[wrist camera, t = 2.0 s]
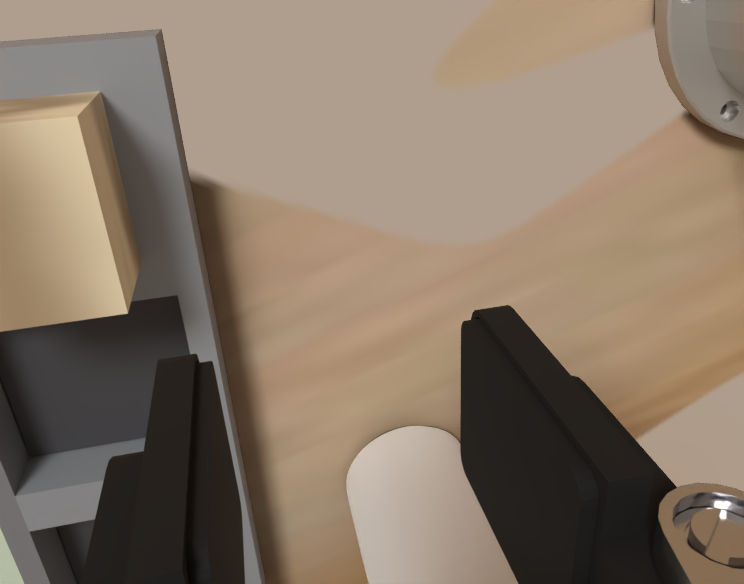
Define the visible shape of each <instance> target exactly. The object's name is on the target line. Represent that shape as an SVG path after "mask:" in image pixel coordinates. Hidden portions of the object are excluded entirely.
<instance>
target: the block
mask: <svg viewBox="0 0 744 584" xmlns="http://www.w3.org/2000/svg"><path fill="white" fill-rule="evenodd" d="M140 265H141V259H140V255H139V250H138V246H137V242H136V238H135V234H134V229H133V225H132V221H131V217H130V213H129V208H128V204H127V200H126V196H125V192H124V187H123V183H122V179H121V175H120V170H119V166H118V162H117V158H116V154H115V149H114V145H113V141H112V137H111V133H110V128H109V124H108V120H107V116H106V111H105V107H104V103H103V99H102V95H101V91H96V92H85V93H74V94H63V95H52V96H41V97H30V98H19V99H8V100H0V332H2V331H9V330H16V329H23V328H30V327H37V326H44V325H51V324H58V323H65V322H72V321H79V320H86V319H93V318H100V317H107V316H114V315H121V314H128V312H129V308H130V304H131V300H132V296H133V292H134V288H135V284H136V281H137V277H138V273H139V269H140Z"/></svg>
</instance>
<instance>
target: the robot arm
mask: <svg viewBox="0 0 744 584" xmlns="http://www.w3.org/2000/svg"><path fill="white" fill-rule="evenodd" d="M655 36H656V42H657V48H658V54H659V60H660V63H661V66H662V68H663V71H664V74H665V76H666V79H667V81H668V84H669V86H670V88H671V89H672V91H673V92H674V94H675V95H676V96H677V98H678V100H679V101H680V103H681V104H682V106H683V107H684V108H685V109H686V110H688V111H689V112H690V113H691V114H692V115H693V116H694V117H695V118H696V119H697V120H699V121H700V122H702V123H704V124H706V125H707V126H709V127H711V128H713V129H715V130H717V131H719V132H722V133H726V134H729V135H732V136H736V137H739V138H742V139H744V0H655ZM460 451H461V461H462V466H463V469H464V472H465V475H466V477H467V479H468V481H469V483H470V485H471V487H472V489H473V492H474V494H475V496H476V498H477V500H478V502H479V504H480V506H481V508H482V510H483V512H484V514H485V516H486V518H487V520H488V522H489V524H490V526H491V529H492V531H493V533H494V535H495V537H496V539H497V541H498V543H499V545H500V547H501V549H502V551H503V553H504V555H505V557H506V559H507V561H508V563H509V566H510V568H511V570H512V572H513V574H514V576H515V578H516V580H517V582H518V584H744V492H743V491H741V490H738V489H736V488H731V487H727V486H723V485H719V484H708V483H694V484H689V485H684V486H679V487H678V488H677V487H676V486H675V485H674V483H673V482H672V481H671V480H670V479H669V478H668V477H667V476H666V474H665V473H664V472H663V471H662V470H661V469H660V468H659V466H658V465H657V464H656V463H655V462H654V461H653V460H652V459H651V457H650V456H649V455H648V454H647V453H646V452H645V451H644V449H643V448H642V447H641V446H640V445H639V444H638V443H637V441H636V440H635V439H634V438H633V437H632V436H631V435H630V434H629V432H628V431H627V430H626V429H625V428H624V427H623V426H622V424H621V423H620V422H619V421H618V420H617V419H616V418H615V416H614V415H613V414H612V413H611V412H610V411H609V410H608V409H607V407H606V406H605V405H604V404H603V403H602V402H601V401H600V399H599V398H598V397H597V396H596V395H595V394H594V393H593V392H592V390H591V389H590V388H589V387H588V386H587V385H586V384H585V382H583V381H582V380H581V379H580V378H579V377H575V376H571V375H570V374H569V373H568V372H567V371H566V369H565V368H564V367H563V366H562V365H561V364H560V362H559V361H558V360H557V359H556V358H555V357H554V356H553V354H552V353H551V352H550V351H549V350H548V349H547V347H546V346H545V345H544V344H543V343H542V342H541V340H540V339H539V338H538V337H537V336H536V335H535V333H534V332H533V331H532V330H531V329H530V328H529V327H528V325H527V324H526V323H525V322H524V321H523V320H522V318H521V317H520V316H519V315H518V314H517V313H516V311H515V310H514V309H513V308H512V307H511V306H508V305H506V306H500V307H493V308H487V309H480V310H475V311H474V312H473V314H472V317H471V320H468V321H464V322H463V323H462V327H461V447H460ZM81 584H245V569H244V546H243V524H242V510H241V502H240V496H239V490H238V485H237V480H236V475H235V470H234V465H233V460H232V455H231V450H230V445H229V440H228V435H227V430H226V425H225V420H224V415H223V410H222V405H221V399H220V394H219V389H218V384H217V379H216V374H215V369H214V365H213V362H212V361H207V362H199V359H198V356H197V354H190V355H183V356H177V357H170V358H164V359H159V360H158V362H157V367H156V374H155V380H154V387H153V393H152V400H151V406H150V413H149V419H148V426H147V432H146V439H145V445H144V451H141V452H136V453H130V454H124V455H119V456H113V457H112V458H111V459H110V460H109V462H108V465H107V468H106V472H105V477H104V481H103V486H102V490H101V495H100V499H99V504H98V508H97V513H96V517H95V522H94V526H93V531H92V535H91V540H90V544H89V549H88V553H87V558H86V562H85V567H84V571H83V576H82V580H81Z"/></svg>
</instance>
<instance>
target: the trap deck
mask: <svg viewBox="0 0 744 584" xmlns="http://www.w3.org/2000/svg"><path fill="white" fill-rule="evenodd" d="M96 91H101V95H102V99H103V103H104V107H105V111H106V116H107V120H108V124H109V128H110V133H111V137H112V141H113V145H114V149H115V154H116V158H117V162H118V166H119V170H120V175H121V179H122V183H123V187H124V192H125V196H126V200H127V204H128V208H129V213H130V217H131V221H132V225H133V229H134V234H135V238H136V242H137V246H138V250H139V255H140V259H141V265H140V269H139V273H138V277H137V281H136V284H135V288H134V292H133V296H132V300H131V304H130V308H129V312H128V314H121V315H114V316H107V317H100V318H93V319H86V320H79V321H72V322H65V323H58V324H51V325H44V326H37V327H30V328H23V329H16V330H9V331H2V332H0V377H1V378H0V584H81V580H82V576H83V571H84V567H85V562H86V558H87V553H88V549H89V544H90V540H91V535H92V531H93V526H94V522H95V517H96V513H97V508H98V504H99V499H100V495H101V490H102V486H103V481H104V477H105V472H106V468H107V465H108V462H109V460H110V459H111V458H112V457H113V456H119V455H124V454H130V453H136V452H141V451H144V445H145V439H146V432H147V426H148V419H149V413H150V406H151V400H152V393H153V387H154V380H155V374H156V367H157V362H158V360H159V359H164V358H170V357H177V356H183V355H190V354H197V356H198V359H199V362H207V361H212V362H213V365H214V369H215V374H216V379H217V384H218V389H219V394H220V399H221V405H222V410H223V415H224V420H225V425H226V430H227V435H228V440H229V445H230V450H231V455H232V460H233V465H234V470H235V475H236V480H237V485H238V490H239V496H240V502H241V510H242V524H243V546H244V569H245V584H266V581H265V576H264V570H263V565H262V560H261V554H260V549H259V544H258V538H257V533H256V528H255V522H254V517H253V512H252V507H251V501H250V496H249V491H248V485H247V480H246V475H245V469H244V464H243V459H242V454H241V448H240V443H239V438H238V432H237V427H236V422H235V416H234V411H233V406H232V401H231V395H230V390H229V385H228V379H227V374H226V369H225V363H224V358H223V353H222V348H221V342H220V337H219V332H218V326H217V321H216V316H215V310H214V305H213V300H212V295H211V289H210V284H209V279H208V273H207V268H206V263H205V257H204V252H203V247H202V242H201V236H200V231H199V226H198V220H197V215H196V210H195V204H194V199H193V194H192V189H191V183H190V178H189V173H188V167H187V162H186V157H185V151H184V146H183V141H182V135H181V130H180V125H179V120H178V115H177V109H176V104H175V98H174V93H173V88H172V83H171V78H170V72H169V67H168V61H167V56H166V51H165V46H164V40H163V35H162V30H161V29H158V30H146V31H133V32H119V33H106V34H93V35H80V36H67V37H55V38H41V39H29V40H17V41H4V42H0V100H8V99H19V98H30V97H41V96H52V95H63V94H74V93H85V92H96ZM1 380H2V381H1ZM2 382H3V383H2ZM3 385H4V386H3ZM4 388H5V389H4ZM5 390H6V391H5ZM6 393H7V394H6ZM7 396H8V397H7ZM8 398H9V399H8ZM9 401H10V402H9ZM11 406H12V407H11ZM12 409H13V410H12ZM14 414H15V415H14ZM15 417H16V418H15ZM17 422H18V423H17ZM18 425H19V426H18ZM19 427H20V428H19ZM20 430H21V431H20ZM21 433H22V434H21ZM22 435H23V436H22ZM23 438H24V439H23ZM24 441H25V442H24ZM25 443H26V444H25ZM26 446H27V447H26ZM28 451H29V452H28ZM29 454H30V455H29ZM57 528H58V529H57ZM58 531H59V532H58ZM59 533H60V534H59ZM60 536H61V537H60ZM62 541H63V542H62ZM63 544H64V545H63ZM65 549H66V550H65ZM66 552H67V553H66ZM68 557H69V558H68ZM69 560H70V561H69ZM71 565H72V566H71ZM72 568H73V569H72ZM74 573H75V574H74ZM75 576H76V577H75ZM76 578H77V579H76ZM77 581H78V582H77Z"/></svg>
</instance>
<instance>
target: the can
mask: <svg viewBox="0 0 744 584" xmlns="http://www.w3.org/2000/svg"><path fill="white" fill-rule="evenodd" d="M460 447H461V444H460V443H459V441H458V440H457V439H456V438H455V437H454V436H453V435H451V434H450V433H448V432H446V431H444V430H441V429H438V428H433V427H427V426H405V427H400V428H396V429H393V430H390V431H388V432H386V433H383V434H382V435H380V436H378V437H376V438H375V439H374V440H372V441H371V442H370V443H369V444H367V445H366V446H365V447H364V448H363V449H362V450H361V452H360V453H359V454H358V455H357V456H356V458H355V459H354V461H353V463H352V464H351V466H350V469H349V472H348V475H347V481H346V488H347V495H348V500H349V504H350V509H351V513H352V517H353V521H354V526H355V530H356V534H357V538H358V542H359V546H360V550H361V555H362V559H363V563H364V567H365V571H366V575H367V579H368V583H369V584H518V582H517V580H516V578H515V576H514V574H513V572H512V570H511V568H510V566H509V563H508V561H507V559H506V557H505V555H504V553H503V551H502V549H501V547H500V545H499V543H498V541H497V539H496V537H495V535H494V533H493V531H492V529H491V526H490V524H489V522H488V520H487V518H486V516H485V514H484V512H483V510H482V508H481V506H480V504H479V502H478V500H477V498H476V496H475V494H474V492H473V489H472V487H471V485H470V483H469V481H468V479H467V477H466V475H465V472H464V469H463V466H462V461H461V451H460Z"/></svg>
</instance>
